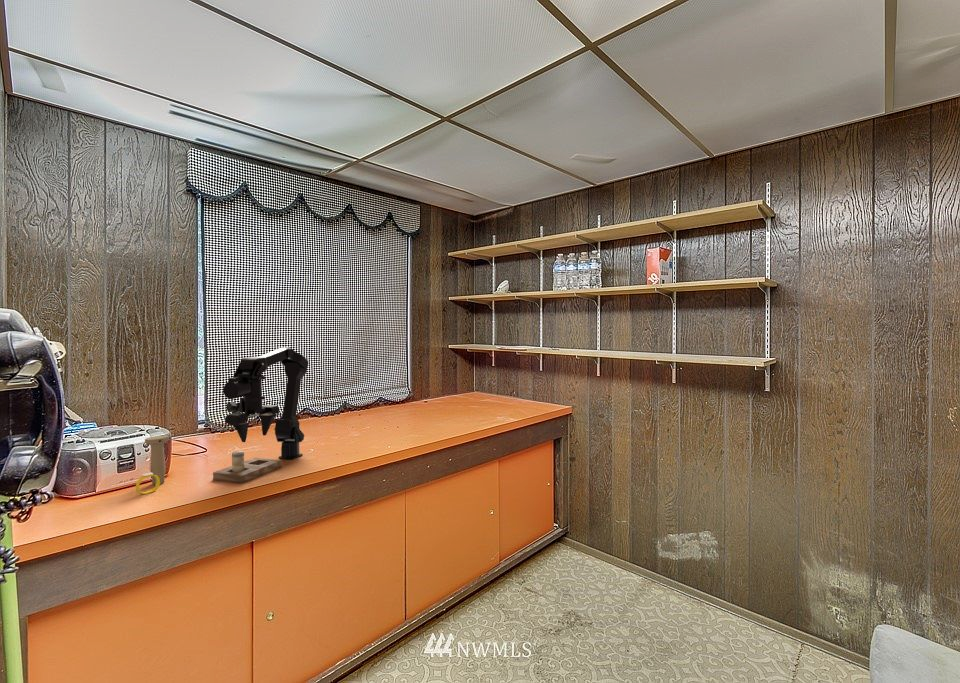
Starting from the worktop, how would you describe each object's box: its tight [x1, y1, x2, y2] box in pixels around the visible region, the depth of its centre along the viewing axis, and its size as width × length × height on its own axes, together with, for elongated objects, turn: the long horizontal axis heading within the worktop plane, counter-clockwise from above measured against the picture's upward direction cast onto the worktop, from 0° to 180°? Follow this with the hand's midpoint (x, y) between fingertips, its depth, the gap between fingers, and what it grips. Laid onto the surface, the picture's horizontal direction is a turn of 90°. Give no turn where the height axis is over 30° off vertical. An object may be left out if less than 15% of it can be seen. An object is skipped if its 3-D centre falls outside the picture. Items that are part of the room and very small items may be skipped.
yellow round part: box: [135, 471, 161, 495], centre depth 139 cm, size 6×3×6 cm, turn 151°
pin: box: [231, 450, 245, 473], centre depth 154 cm, size 4×4×8 cm
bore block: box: [212, 457, 283, 484], centre depth 158 cm, size 18×12×2 cm, turn 163°
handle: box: [144, 434, 170, 486], centre depth 147 cm, size 5×6×15 cm
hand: (254, 438), depth 158 cm, fingers open, 9 cm apart
